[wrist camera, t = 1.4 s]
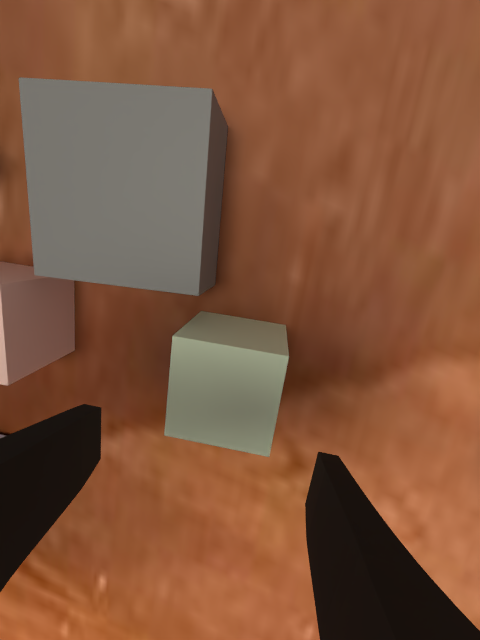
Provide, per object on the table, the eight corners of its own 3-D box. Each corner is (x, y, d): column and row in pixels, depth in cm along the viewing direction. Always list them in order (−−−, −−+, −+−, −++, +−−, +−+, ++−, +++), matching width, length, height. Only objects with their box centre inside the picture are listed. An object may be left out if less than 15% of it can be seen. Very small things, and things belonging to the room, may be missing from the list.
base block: (216, 284, 17) (198, 295, 13) (87, 268, 18) (34, 275, 14) (228, 128, 15) (212, 88, 11) (82, 118, 16) (18, 77, 12)
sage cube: (271, 400, 18) (269, 457, 13) (193, 386, 19) (164, 435, 14) (285, 324, 17) (289, 356, 12) (201, 310, 17) (172, 335, 13)
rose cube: (75, 349, 19) (8, 385, 14) (5, 336, 19) (-84, 367, 15) (75, 273, 18) (0, 284, 13) (-1, 261, 18) (-101, 267, 13)
